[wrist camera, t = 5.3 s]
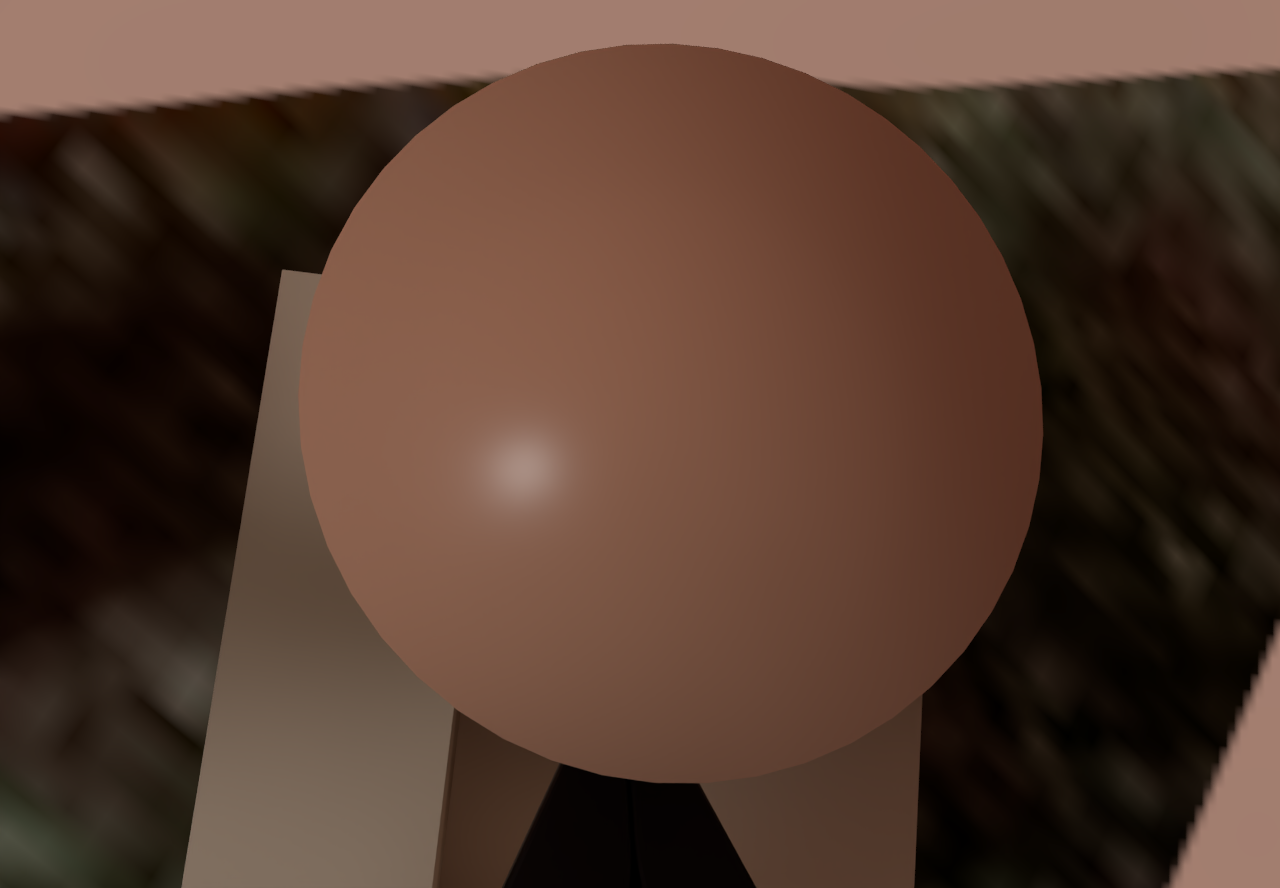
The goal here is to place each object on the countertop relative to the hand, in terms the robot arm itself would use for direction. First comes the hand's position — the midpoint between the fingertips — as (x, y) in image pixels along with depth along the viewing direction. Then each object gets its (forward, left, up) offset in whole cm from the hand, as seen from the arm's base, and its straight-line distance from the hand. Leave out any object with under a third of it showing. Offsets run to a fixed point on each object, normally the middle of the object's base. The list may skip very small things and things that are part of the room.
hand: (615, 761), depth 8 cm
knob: (+3, -1, -7) cm, 7 cm away
